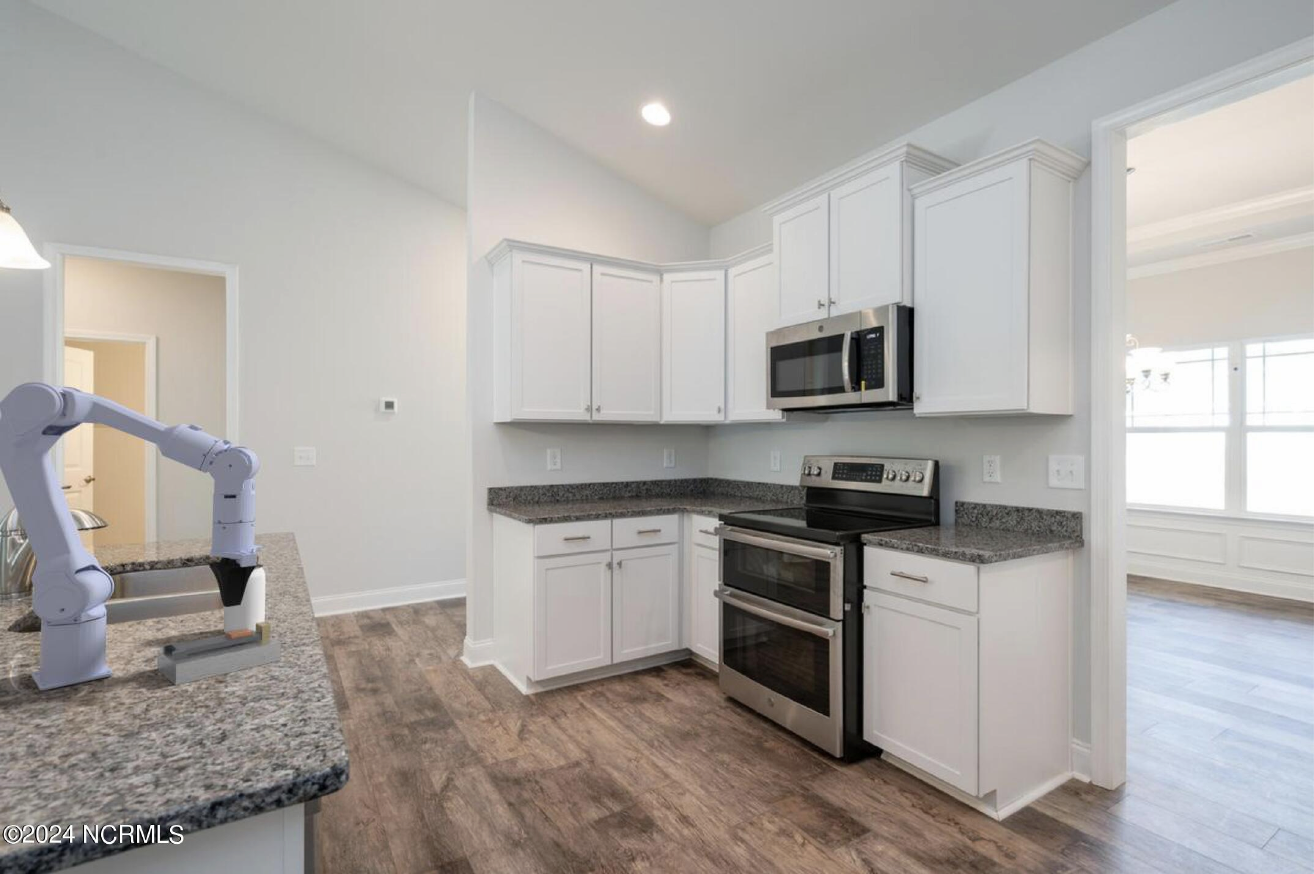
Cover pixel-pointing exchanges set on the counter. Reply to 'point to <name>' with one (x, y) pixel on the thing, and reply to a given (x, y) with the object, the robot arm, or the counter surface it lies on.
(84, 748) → the counter surface
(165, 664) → the base block
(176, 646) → the grey slab
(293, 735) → the counter surface
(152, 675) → the counter surface
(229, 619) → the can
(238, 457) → the robot arm
